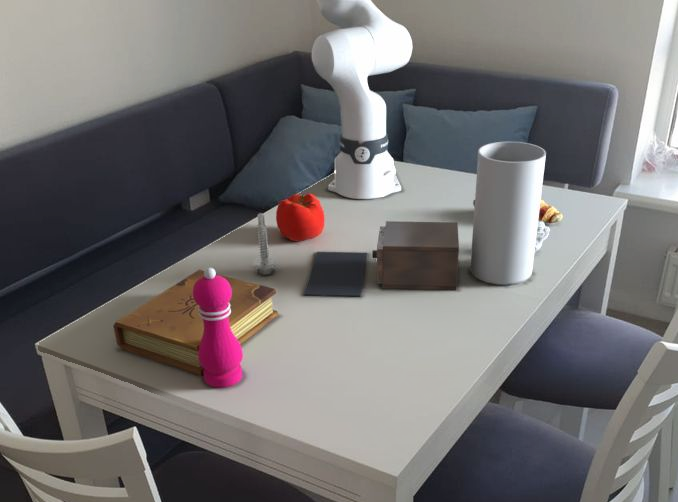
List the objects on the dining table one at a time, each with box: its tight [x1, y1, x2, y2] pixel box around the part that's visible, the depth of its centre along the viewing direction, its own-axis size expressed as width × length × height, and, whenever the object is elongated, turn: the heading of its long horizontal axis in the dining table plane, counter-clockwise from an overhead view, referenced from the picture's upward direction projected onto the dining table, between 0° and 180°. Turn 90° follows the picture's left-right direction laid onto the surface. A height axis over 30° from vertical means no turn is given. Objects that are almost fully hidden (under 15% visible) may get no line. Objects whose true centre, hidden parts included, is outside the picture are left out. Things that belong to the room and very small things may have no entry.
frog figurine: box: [534, 221, 551, 253], centre depth 170 cm, size 6×7×7 cm
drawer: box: [371, 225, 386, 284], centre depth 161 cm, size 15×11×7 cm
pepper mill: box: [193, 267, 244, 389], centre depth 127 cm, size 7×7×20 cm
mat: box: [304, 251, 368, 298], centre depth 165 cm, size 20×11×1 cm, turn 175°
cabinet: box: [382, 220, 460, 291], centre depth 161 cm, size 15×13×9 cm
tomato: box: [275, 192, 326, 242], centre depth 179 cm, size 11×12×9 cm
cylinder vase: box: [469, 141, 547, 286], centre depth 157 cm, size 12×12×25 cm
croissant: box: [472, 198, 564, 224], centre depth 186 cm, size 21×10×8 cm, turn 68°
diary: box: [112, 269, 279, 376], centre depth 144 cm, size 23×19×6 cm
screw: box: [252, 212, 278, 276], centre depth 162 cm, size 13×5×5 cm
